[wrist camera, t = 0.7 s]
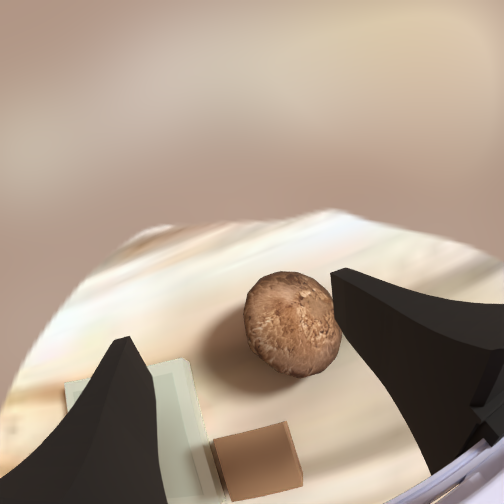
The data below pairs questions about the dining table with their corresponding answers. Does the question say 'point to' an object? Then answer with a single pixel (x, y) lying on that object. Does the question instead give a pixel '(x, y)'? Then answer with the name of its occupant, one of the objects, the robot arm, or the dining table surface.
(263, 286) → the mushroom
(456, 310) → the robot arm
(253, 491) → the walnut block
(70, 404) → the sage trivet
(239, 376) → the dining table surface
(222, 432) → the dining table surface
